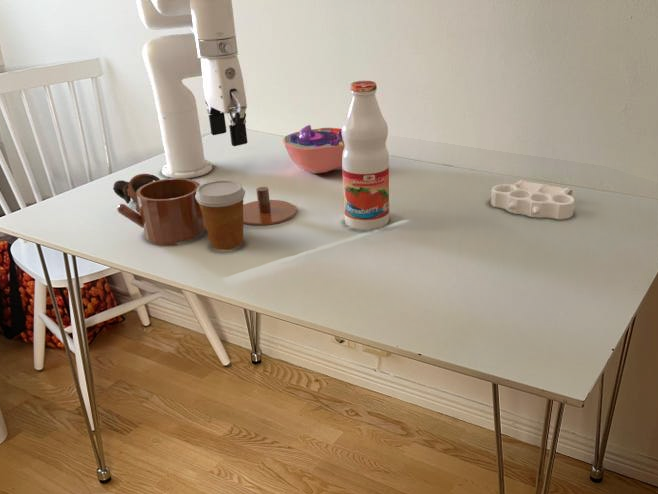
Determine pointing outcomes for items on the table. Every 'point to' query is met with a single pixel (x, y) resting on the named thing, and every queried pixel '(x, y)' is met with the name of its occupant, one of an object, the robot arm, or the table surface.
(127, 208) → the teapot spout handle
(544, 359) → the table surface
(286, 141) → the cell model
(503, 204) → the knuckle duster
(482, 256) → the table surface
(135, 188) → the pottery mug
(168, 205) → the brown hollow round container
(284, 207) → the lid
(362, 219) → the fruit juice
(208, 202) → the disposable coffee cup
